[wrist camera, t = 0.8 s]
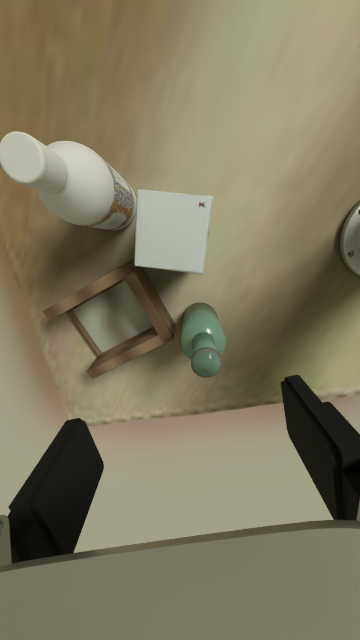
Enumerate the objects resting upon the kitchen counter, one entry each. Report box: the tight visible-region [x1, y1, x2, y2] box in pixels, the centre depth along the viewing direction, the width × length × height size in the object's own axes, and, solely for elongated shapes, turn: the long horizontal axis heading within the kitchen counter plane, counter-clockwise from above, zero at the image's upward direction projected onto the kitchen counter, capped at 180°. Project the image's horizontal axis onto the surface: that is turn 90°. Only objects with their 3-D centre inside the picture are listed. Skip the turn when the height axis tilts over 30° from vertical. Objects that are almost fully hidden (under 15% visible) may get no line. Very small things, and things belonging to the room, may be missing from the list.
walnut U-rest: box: [43, 260, 175, 379], centre depth 36 cm, size 14×12×6 cm
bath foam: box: [0, 132, 137, 230], centre depth 25 cm, size 7×7×20 cm
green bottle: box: [181, 303, 226, 377], centre depth 32 cm, size 6×6×15 cm
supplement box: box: [135, 190, 213, 274], centre depth 29 cm, size 7×7×13 cm
